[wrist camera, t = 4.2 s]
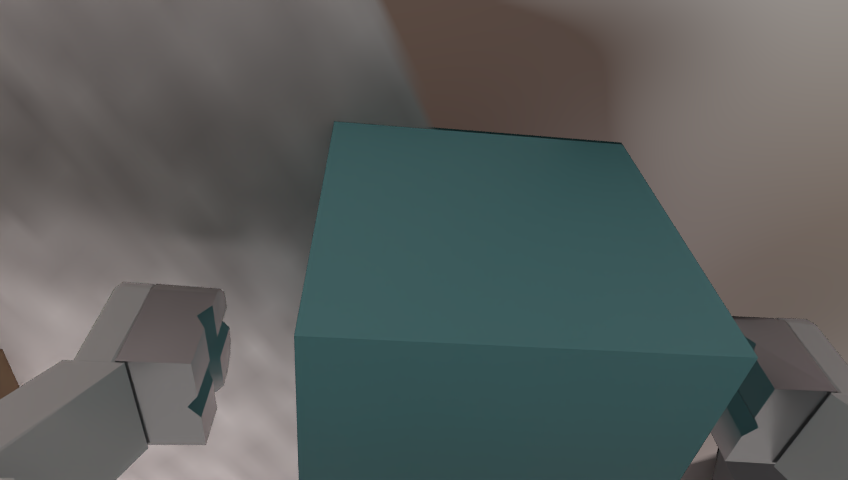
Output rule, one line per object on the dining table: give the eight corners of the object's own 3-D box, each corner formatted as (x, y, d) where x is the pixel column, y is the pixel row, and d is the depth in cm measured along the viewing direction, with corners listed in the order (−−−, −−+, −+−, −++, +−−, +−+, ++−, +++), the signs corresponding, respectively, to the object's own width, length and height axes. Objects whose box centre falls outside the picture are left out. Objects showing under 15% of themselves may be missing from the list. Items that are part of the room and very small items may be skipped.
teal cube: (621, 142, 11) (758, 358, 7) (554, 340, 14) (620, 572, 10) (334, 119, 10) (293, 335, 6) (330, 330, 13) (301, 568, 9)
